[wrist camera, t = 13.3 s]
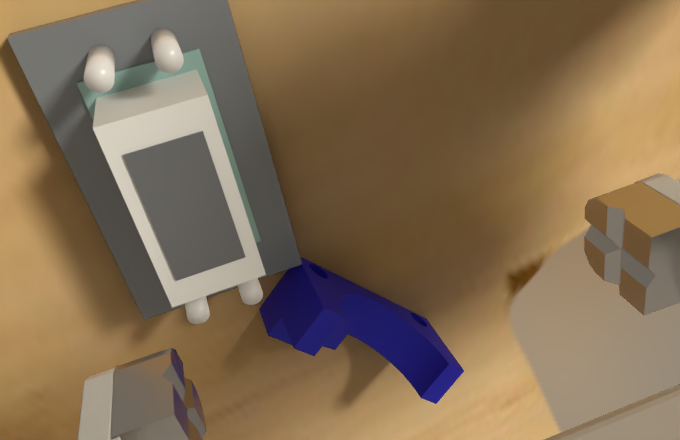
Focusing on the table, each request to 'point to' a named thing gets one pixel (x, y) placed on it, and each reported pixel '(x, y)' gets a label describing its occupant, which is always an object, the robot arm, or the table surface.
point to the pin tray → (142, 68)
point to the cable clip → (357, 326)
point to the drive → (178, 185)
